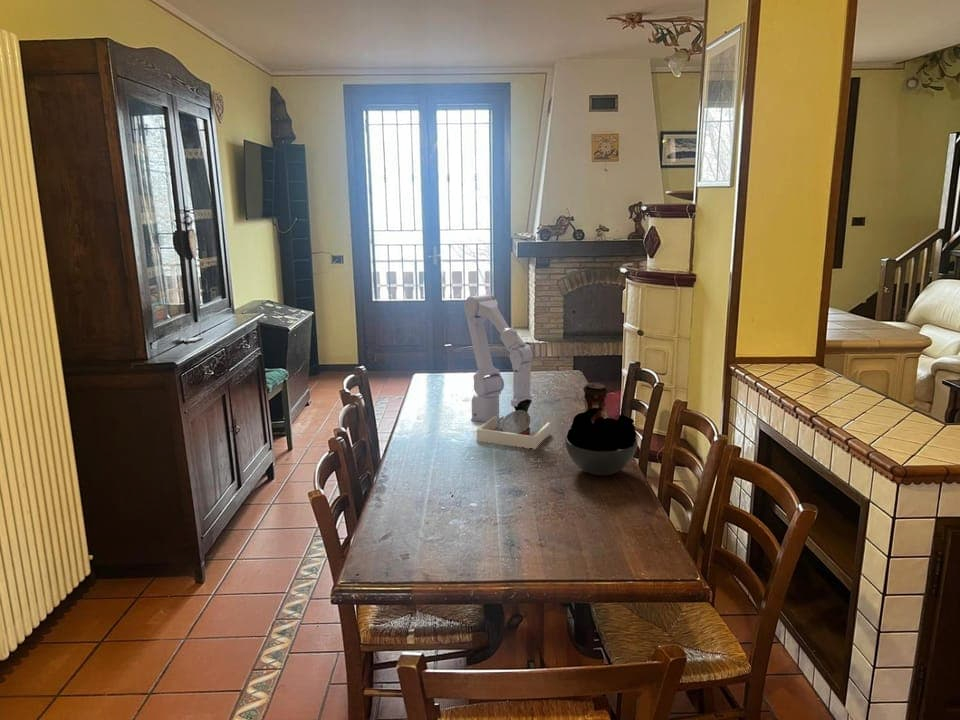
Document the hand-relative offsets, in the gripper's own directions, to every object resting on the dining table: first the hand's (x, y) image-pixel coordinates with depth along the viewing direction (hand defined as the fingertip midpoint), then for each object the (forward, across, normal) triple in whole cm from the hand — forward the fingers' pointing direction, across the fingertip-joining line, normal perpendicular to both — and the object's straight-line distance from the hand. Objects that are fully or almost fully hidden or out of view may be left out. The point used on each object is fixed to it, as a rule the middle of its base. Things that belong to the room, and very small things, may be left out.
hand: (521, 420), depth 226 cm
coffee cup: (+4, +19, -20) cm, 28 cm away
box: (+3, -7, 0) cm, 8 cm away
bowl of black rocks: (+3, -25, -33) cm, 42 cm away
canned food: (+4, -7, 0) cm, 8 cm away
